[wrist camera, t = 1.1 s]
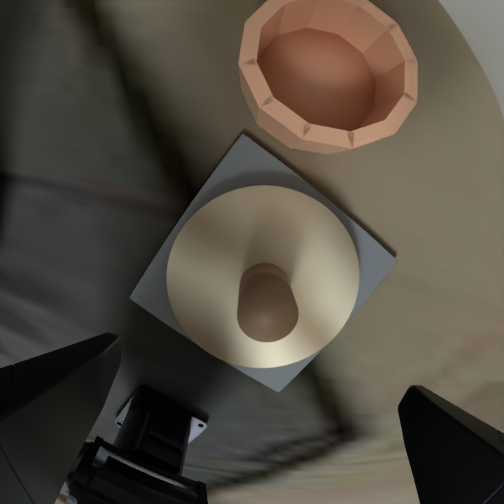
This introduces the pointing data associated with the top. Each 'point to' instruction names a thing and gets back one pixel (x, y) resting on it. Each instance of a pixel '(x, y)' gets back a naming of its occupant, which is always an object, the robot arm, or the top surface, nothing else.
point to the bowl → (326, 73)
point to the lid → (263, 276)
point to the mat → (252, 174)
